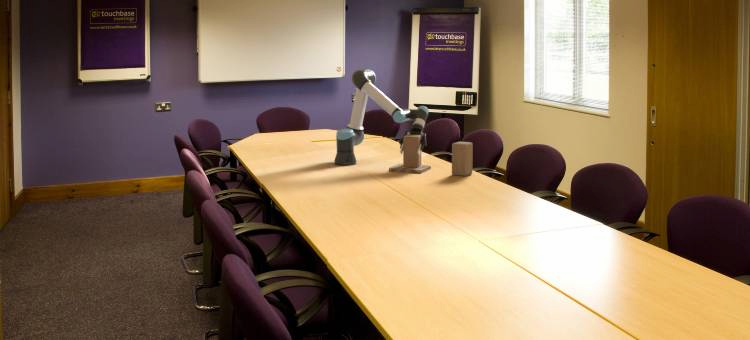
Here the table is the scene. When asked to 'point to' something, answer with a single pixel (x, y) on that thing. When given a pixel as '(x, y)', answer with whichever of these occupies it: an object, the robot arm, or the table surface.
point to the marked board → (410, 168)
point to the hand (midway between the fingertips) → (409, 153)
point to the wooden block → (411, 151)
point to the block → (462, 158)
